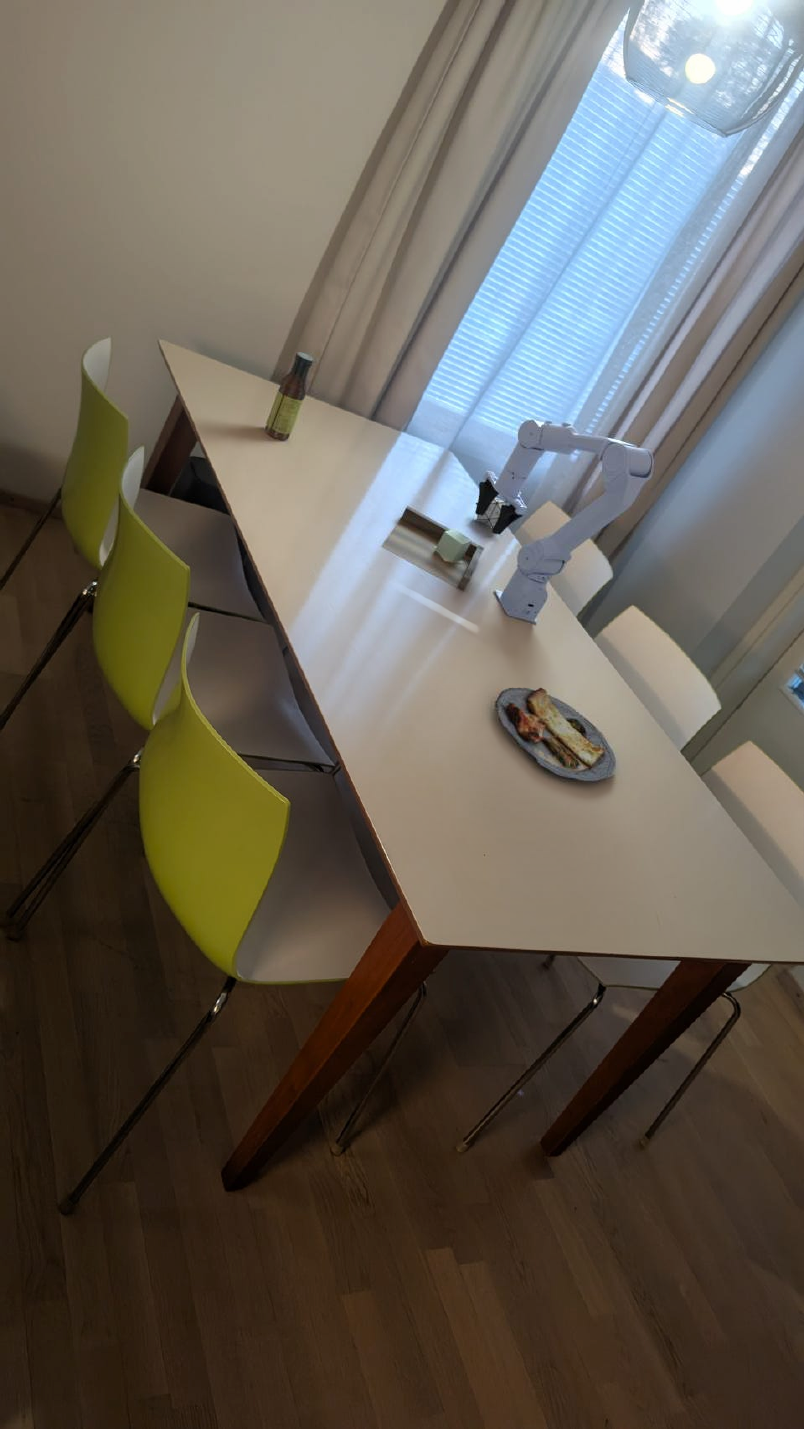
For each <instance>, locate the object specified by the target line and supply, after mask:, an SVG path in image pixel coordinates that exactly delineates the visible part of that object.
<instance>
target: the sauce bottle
mask: <svg viewBox="0 0 804 1429" xmlns="http://www.w3.org/2000/svg"><path fill="white" fill-rule="evenodd" d="M313 363H314V359H313V357H312V356H311V355H309V354H307V353H305V352H302V351H297V353H296V355H295V358H294V363H293V365H292V368H291V370H290V372H289V373H288V374H287V375H285V376H284V377H283V378H282V380H281V383H280V386H279V387H278V390H277V393H276V396H275V398H274V401H273V404H272V406H271V409H270V412H269V415H268V418H267V420H266V425H265V428H264V430H265V431H266V433H268V435H269V436H271V437H272V438H274V439H277V440H281V441H286V440H287V441H288V439H289V438H290V436H291V434H292V433H293V431H294V427H295V424H296V422H297V419H298V416H299V414H300V411H301V410H302V405H303V403H304V400H305V398H306V395H307V394H306V392H307V378H308V374H309V371H310V369H311V366H313Z"/></svg>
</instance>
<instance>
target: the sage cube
mask: <svg viewBox="0 0 804 1429" xmlns="http://www.w3.org/2000/svg"><path fill="white" fill-rule="evenodd" d="M471 542H473V540H472V539H470V538H469V537H468V536H466V535H465V534H463V533H462V532H460V530H458V529H457V528H454V527H453V528H452V529H450V530H448V531H445V532H444V534H443V536H442V538H441V539H440V541H439V543H438V545H437V547H436V549H435V551H436V552H438V553H439V554H440V555H442V556H443V557H445V558H446V559H447V560H449V561H450V562H451V563H453V562H456V561H458V560H461V559H462V558H463V556H464V554H465V553H466V551H467V549H468V547H469V545H470V544H471Z"/></svg>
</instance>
